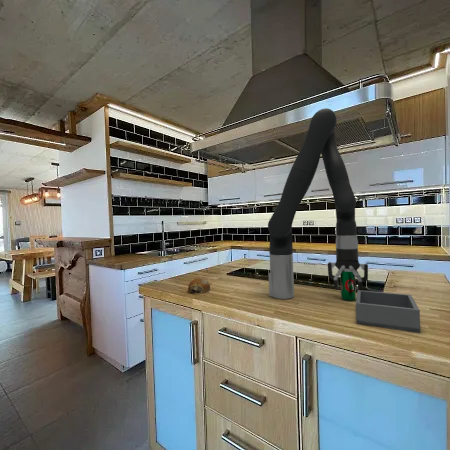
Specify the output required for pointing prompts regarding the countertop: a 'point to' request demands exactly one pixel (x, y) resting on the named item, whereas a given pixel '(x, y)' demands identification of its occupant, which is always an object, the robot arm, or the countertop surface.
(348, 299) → the soda can
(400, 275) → the countertop surface
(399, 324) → the bin
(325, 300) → the countertop surface
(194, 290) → the bread roll
